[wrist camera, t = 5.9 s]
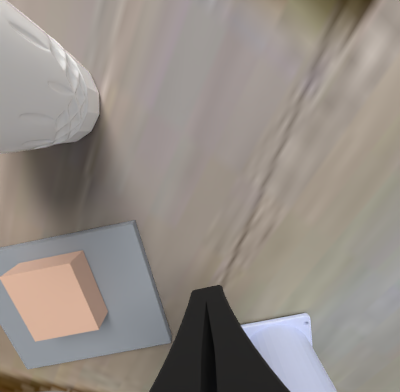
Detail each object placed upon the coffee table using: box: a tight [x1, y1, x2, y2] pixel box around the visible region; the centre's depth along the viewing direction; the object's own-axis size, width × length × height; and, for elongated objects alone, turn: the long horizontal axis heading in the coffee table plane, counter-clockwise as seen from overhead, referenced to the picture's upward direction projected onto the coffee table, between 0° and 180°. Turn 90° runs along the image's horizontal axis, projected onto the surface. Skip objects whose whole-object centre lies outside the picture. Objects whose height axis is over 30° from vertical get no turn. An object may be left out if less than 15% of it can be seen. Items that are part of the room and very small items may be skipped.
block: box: [0, 250, 108, 342], centre depth 19 cm, size 7×2×6 cm
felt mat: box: [0, 220, 172, 369], centre depth 20 cm, size 14×16×1 cm
